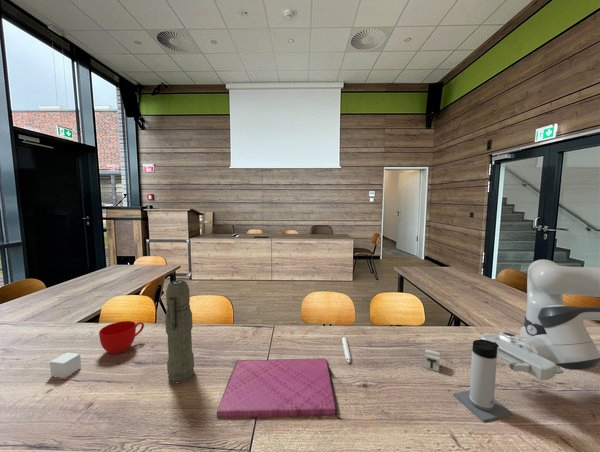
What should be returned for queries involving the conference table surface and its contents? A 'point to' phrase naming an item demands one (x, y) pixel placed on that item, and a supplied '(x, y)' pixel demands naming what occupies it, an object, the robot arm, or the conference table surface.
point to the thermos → (179, 332)
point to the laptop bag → (279, 389)
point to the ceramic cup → (118, 336)
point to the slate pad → (496, 413)
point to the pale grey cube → (65, 365)
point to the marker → (346, 350)
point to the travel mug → (483, 374)
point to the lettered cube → (432, 360)
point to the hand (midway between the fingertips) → (496, 358)
